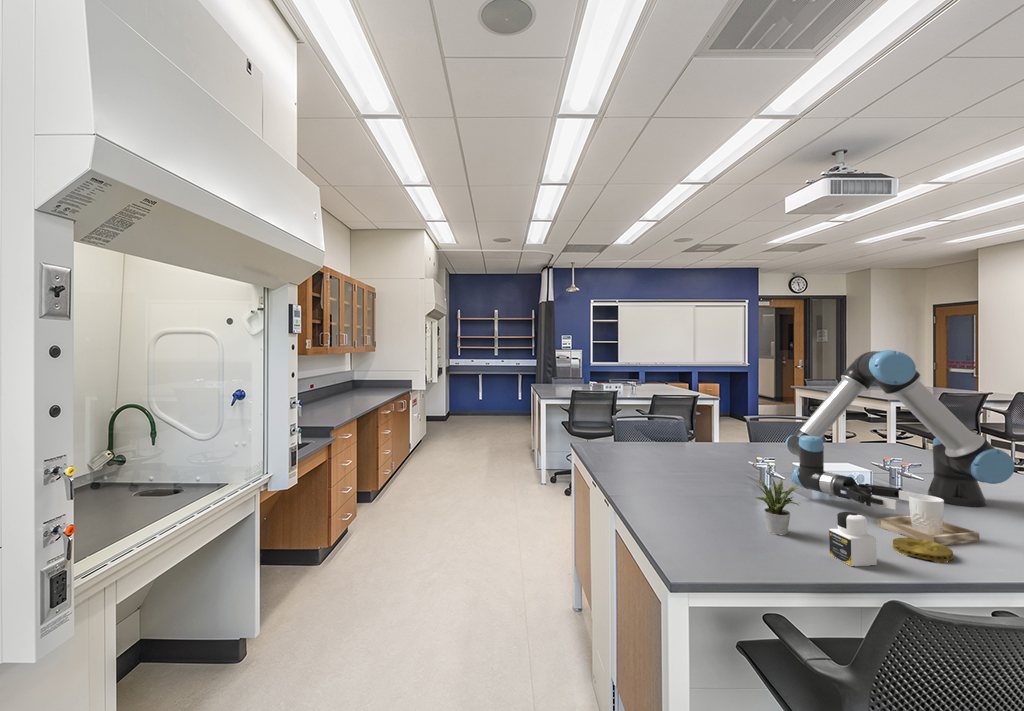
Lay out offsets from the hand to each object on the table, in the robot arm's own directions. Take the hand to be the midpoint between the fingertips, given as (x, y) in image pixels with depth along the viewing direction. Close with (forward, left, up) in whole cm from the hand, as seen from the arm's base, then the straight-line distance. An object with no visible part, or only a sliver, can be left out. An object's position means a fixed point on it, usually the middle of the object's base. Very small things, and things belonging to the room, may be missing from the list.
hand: (910, 502), depth 140 cm
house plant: (+41, -5, -8) cm, 42 cm away
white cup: (-1, +4, -8) cm, 9 cm away
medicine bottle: (+37, +15, -8) cm, 41 cm away
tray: (-1, +4, -8) cm, 9 cm away
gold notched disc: (+15, +15, -9) cm, 23 cm away
